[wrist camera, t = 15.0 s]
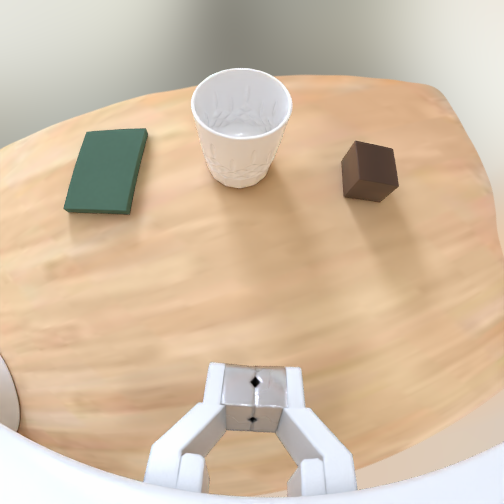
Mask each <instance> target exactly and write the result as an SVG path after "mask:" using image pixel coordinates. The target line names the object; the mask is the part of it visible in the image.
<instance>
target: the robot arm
mask: <svg viewBox="0 0 504 504" xmlns="http://www.w3.org/2000/svg"><path fill="white" fill-rule="evenodd" d="M19 421H20V411H19V403H18V397H17V393H16V389H15V386H14V383H13V380H12V377H11V375H10V373H9V370H8V368H7V366H6V364H5V362H4V360H3V359H2V357H1V355H0V504H504V442H502V443H500V444H498V445H496V446H494V447H492V448H490V449H488V450H486V451H483V452H481V453H479V454H477V455H475V456H472V457H470V458H467V459H465V460H463V461H460V462H458V463H455V464H452V465H450V466H447V467H445V468H442V469H439V470H436V471H433V472H430V473H427V474H423V475H420V476H417V477H414V478H410V479H406V480H402V481H398V482H394V483H390V484H386V485H382V486H377V487H372V488H366V489H361V490H357V483H356V476H355V469H354V462H353V456H352V453H351V452H350V451H349V450H348V449H347V448H346V447H345V446H344V445H343V444H342V443H341V442H340V441H339V440H338V438H337V437H336V436H335V435H334V434H333V433H332V432H331V431H330V430H329V429H328V428H327V426H326V425H325V424H324V423H323V422H322V421H321V420H320V419H319V418H318V416H317V415H316V414H315V413H314V412H313V411H312V410H311V408H306V407H305V397H304V388H303V379H302V370H301V368H300V367H280V366H245V365H234V364H225V363H214V362H210V365H209V369H208V374H207V380H206V386H205V392H204V398H203V403H200V402H198V403H197V404H196V405H195V406H194V407H193V408H192V409H191V410H190V411H189V412H188V413H187V414H186V415H185V416H183V417H182V418H181V419H180V420H179V421H178V422H177V423H176V424H175V425H174V426H173V427H172V428H171V429H169V430H168V431H167V432H166V433H165V434H164V435H163V436H162V437H161V438H160V439H158V440H157V441H156V442H155V443H154V444H153V445H152V447H151V451H150V455H149V459H148V464H147V468H146V472H145V477H144V481H143V482H141V481H137V480H133V479H130V478H126V477H123V476H119V475H116V474H113V473H109V472H106V471H103V470H100V469H97V468H94V467H92V466H89V465H86V464H83V463H81V462H78V461H76V460H73V459H71V458H68V457H66V456H64V455H61V454H59V453H57V452H54V451H52V450H50V449H48V448H46V447H44V446H42V445H40V444H38V443H36V442H34V441H32V440H30V439H28V438H26V437H24V436H22V435H20V434H19V433H17V430H18V427H19ZM226 430H233V431H255V432H275V433H276V435H277V436H278V438H279V439H280V441H281V442H282V444H283V445H284V447H285V448H286V450H287V451H288V453H289V454H290V456H291V457H292V459H293V460H294V461H295V463H296V464H297V466H298V468H297V469H296V471H295V472H294V473H293V475H292V476H291V478H290V479H289V480H288V482H287V497H242V496H227V495H216V494H209V483H210V478H209V474H208V470H207V466H206V462H205V459H204V457H205V456H206V455H207V454H208V453H209V451H210V450H211V449H212V448H213V447H214V446H215V444H216V443H217V442H218V441H219V440H220V438H221V437H222V436H223V435H224V433H225V432H226Z"/></svg>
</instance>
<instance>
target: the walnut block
mask: <svg viewBox="0 0 504 504" xmlns="http://www.w3.org/2000/svg"><path fill="white" fill-rule="evenodd" d="M341 163H342V176H343V192H344V197H348V198H356V199H363V200H369V201H376V202H380V201H382V200H383V199H384V198H385V197H387V196H388V195H389V194H390V193H391V192H393V191H394V190H395V189H396V188H397V187H399V184H398V177H397V170H396V164H395V158H394V152H393V149H391V148H387V147H383V146H378V145H374V144H369V143H364V142H359V141H355V142H354V143H353V145H352V146H351V148H350V149H349V151H348V152H347V154H346V155H345V157H344V158H343V160H342V161H341Z"/></svg>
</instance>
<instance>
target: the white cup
mask: <svg viewBox="0 0 504 504" xmlns="http://www.w3.org/2000/svg"><path fill="white" fill-rule="evenodd" d="M191 108H192V113H193V117H194V121H195V125H196V129H197V133H198V137H199V141H200V144H201V147H202V151H203V154H204V157H205V159H206V163H207V167H208V169H209V170H210V172H211V174H212V176H213V177H214V179H216V180H217V181H219V182H221V183H222V184H224V185H225V186H229V187H235V188H244V187H248V186H252V185H255V184H256V183H258V182H259V181H260V180H261V179H263V178H264V177H265V176H266V174H267V172H268V169H269V167H270V165H271V162H272V161H273V160H274V157H275V155H276V152H277V150H278V147H279V145H280V143H281V140H282V137H283V134H284V131H285V129H286V126H287V123H288V121H289V118H290V115H291V112H292V99H291V96H290V93H289V92H288V90H287V88H286V87H285V86H284V85H283V84H282V83H281V82H280V81H279V80H278V79H276V78H275V77H273V76H271V75H269V74H267V73H265V72H262V71H258V70H254V69H247V68H235V69H228V70H224V71H220V72H217V73H215V74H213V75H211V76H209V77H208V78H206V79H205V80H204V81H202V82H201V83H200V84H199V85H198V87H197V88H196V90H195V91H194V93H193V96H192V100H191Z"/></svg>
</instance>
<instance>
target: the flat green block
mask: <svg viewBox="0 0 504 504" xmlns="http://www.w3.org/2000/svg"><path fill="white" fill-rule="evenodd" d="M147 136H148V133H147V131H146V128H142V129H119V130H104V131H92V132H86V135H85V138H84V141H83V144H82V146H81V149H80V152H79V155H78V158H77V162H76V165H75V168H74V171H73V175H72V178H71V182H70V185H69V189H68V193H67V197H66V201H65V205H64V209H65V210H66V211H67V212H78V213H107V214H130V209H131V204H132V199H133V194H134V189H135V185H136V180H137V176H138V171H139V167H140V163H141V159H142V155H143V151H144V147H145V143H146V139H147Z"/></svg>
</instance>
